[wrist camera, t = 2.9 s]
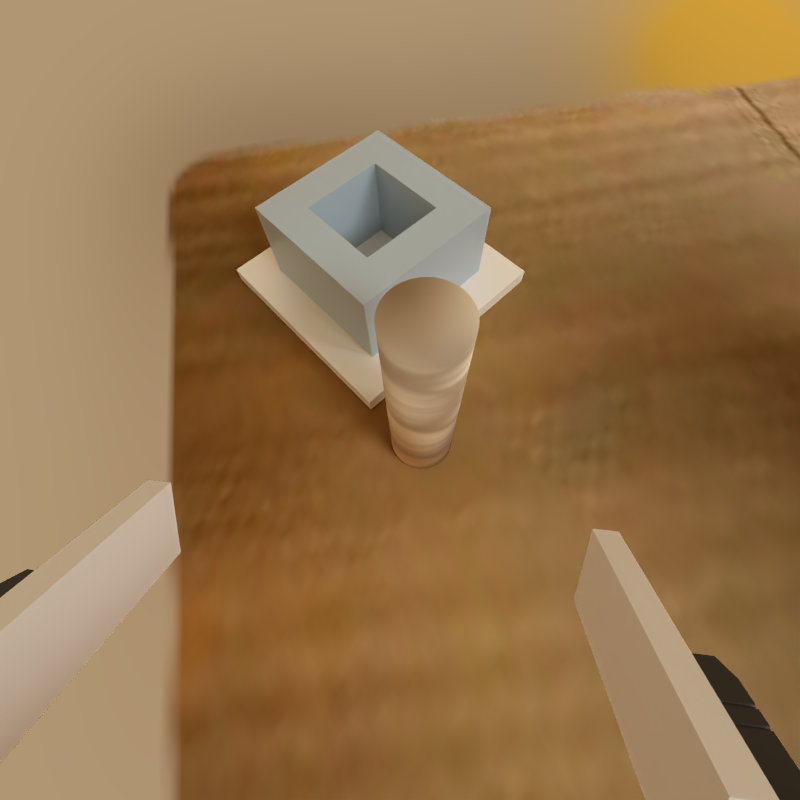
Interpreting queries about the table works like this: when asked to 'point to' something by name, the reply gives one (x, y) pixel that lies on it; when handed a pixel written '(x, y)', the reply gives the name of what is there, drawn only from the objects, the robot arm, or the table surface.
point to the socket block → (369, 251)
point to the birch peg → (424, 364)
